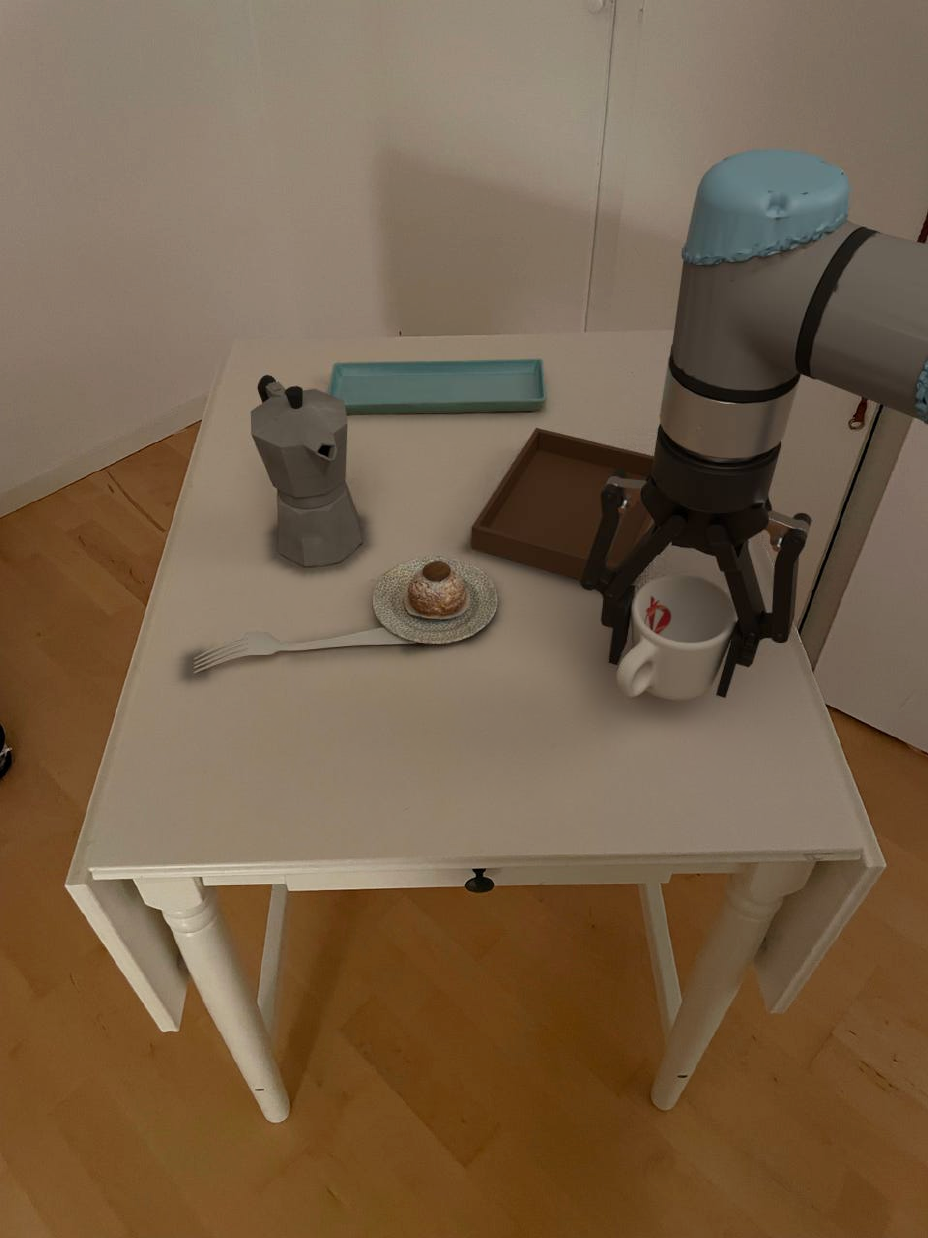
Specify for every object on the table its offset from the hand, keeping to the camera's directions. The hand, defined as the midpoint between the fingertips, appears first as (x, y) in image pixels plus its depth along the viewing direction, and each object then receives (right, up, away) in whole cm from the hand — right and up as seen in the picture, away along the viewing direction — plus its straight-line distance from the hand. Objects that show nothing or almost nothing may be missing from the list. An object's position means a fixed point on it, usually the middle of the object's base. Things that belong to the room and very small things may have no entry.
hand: (670, 667), depth 73 cm
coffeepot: (-32, +13, +23) cm, 41 cm away
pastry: (-19, +5, +15) cm, 25 cm away
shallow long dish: (-20, +31, +40) cm, 54 cm away
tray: (-5, +15, +24) cm, 29 cm away
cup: (0, -2, +2) cm, 3 cm away
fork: (-31, +1, +12) cm, 33 cm away
